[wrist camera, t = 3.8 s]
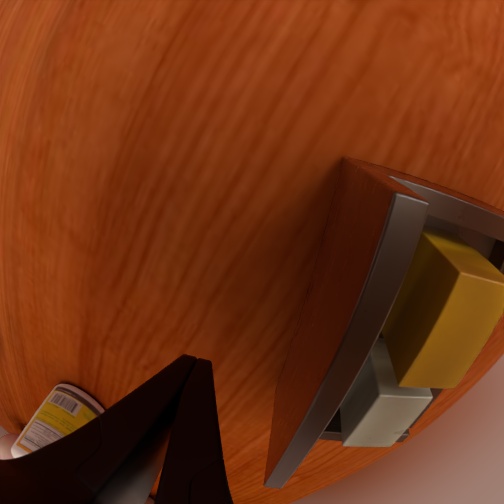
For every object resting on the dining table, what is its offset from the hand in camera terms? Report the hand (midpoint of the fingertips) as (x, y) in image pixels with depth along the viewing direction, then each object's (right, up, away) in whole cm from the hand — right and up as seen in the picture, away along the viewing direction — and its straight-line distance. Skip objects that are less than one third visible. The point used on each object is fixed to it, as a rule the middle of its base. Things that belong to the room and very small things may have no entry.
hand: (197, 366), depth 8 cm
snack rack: (+8, +1, +4) cm, 9 cm away
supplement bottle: (-12, -9, +12) cm, 19 cm away
